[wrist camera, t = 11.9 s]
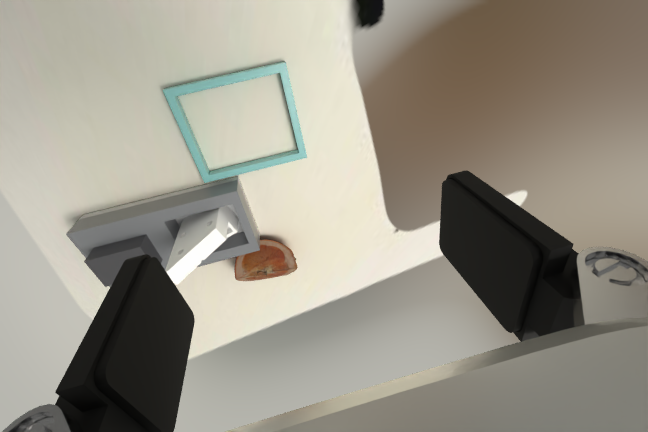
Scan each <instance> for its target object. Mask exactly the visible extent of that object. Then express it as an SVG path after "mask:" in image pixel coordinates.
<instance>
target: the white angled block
mask: <svg viewBox="0 0 648 432" xmlns="http://www.w3.org/2000/svg"><path fill="white" fill-rule="evenodd" d="M237 232H238V217H237V216H236V215H235V214H234V212H233V211H232V210H231V209H230V208H229V207H228V206H224V207H220V208H216V209H212V210H208V211H204V212H200V213H196V214H193V215H190V216H188V217H186V218H185V219H183V220H182V223H181V226H180V229H179V232H178V234H177V237H176V240H175V243H174V246H173V249H172V252H171V255H170V258H169V261H168V264H167V266H166V269H165V271H166V272H167V274H168V275H169V277H170V278H171V280H172V281H173V282H174V283H175V284H176V285H178V284H179V283H180V282H181V281H182V280H183V279H184V278H185V277H186V276H187V275H188V274H189V273H191V272H192V271H193V270H194V269H195V268H196V267H197V266H198V265H199V264H200V263H201V261H202V260H205V259H206V258H207V257H208V256H209V255H210V254H211V253H212V252H213V251H214V250H216V249H217V248H218V247H219V246H220V245H221V244H222V243H223V242H224V241H225V240H226V239H227V238H228V237H230V236H231V235H233V234H235V233H237Z"/></svg>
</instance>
